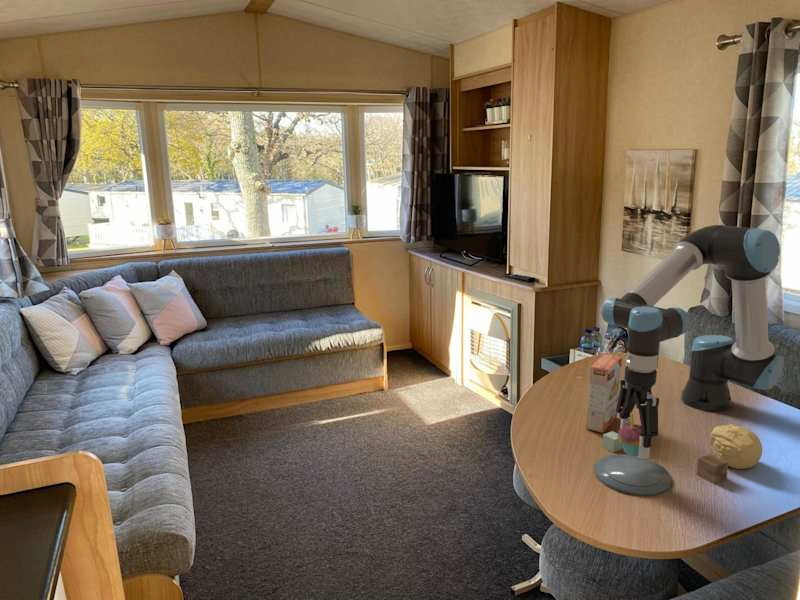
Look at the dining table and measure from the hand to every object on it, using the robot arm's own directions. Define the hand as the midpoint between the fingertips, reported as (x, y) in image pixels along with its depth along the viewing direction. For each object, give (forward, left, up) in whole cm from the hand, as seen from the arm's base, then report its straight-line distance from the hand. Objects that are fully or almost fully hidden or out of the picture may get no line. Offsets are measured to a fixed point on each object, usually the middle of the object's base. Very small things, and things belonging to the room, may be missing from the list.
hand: (633, 448), depth 157 cm
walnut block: (-20, +5, -8) cm, 22 cm away
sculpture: (-31, 0, -8) cm, 32 cm away
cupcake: (0, 0, -1) cm, 1 cm away
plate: (0, 0, -8) cm, 8 cm away
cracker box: (-8, -30, -8) cm, 32 cm away
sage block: (-3, -15, -8) cm, 17 cm away
